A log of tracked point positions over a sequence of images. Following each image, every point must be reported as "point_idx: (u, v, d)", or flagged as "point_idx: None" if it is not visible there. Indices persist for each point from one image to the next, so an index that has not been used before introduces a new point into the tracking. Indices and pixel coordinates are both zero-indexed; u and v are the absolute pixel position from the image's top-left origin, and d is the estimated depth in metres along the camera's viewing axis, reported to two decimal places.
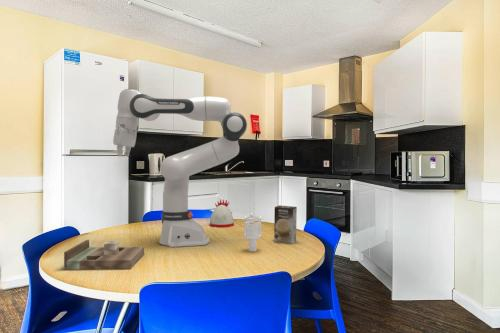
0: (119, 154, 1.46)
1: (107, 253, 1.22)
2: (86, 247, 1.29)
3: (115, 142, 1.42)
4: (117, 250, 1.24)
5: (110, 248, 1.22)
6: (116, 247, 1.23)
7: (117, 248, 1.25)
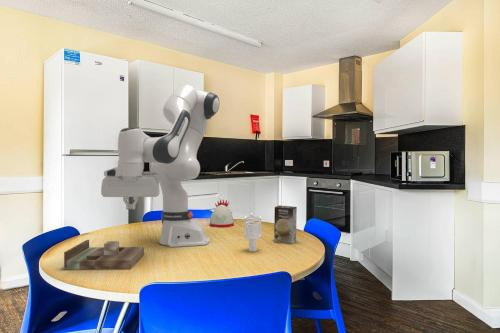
0: (134, 207, 1.24)
1: (107, 253, 1.22)
2: (86, 247, 1.29)
3: (158, 194, 1.24)
4: (117, 250, 1.24)
5: (110, 248, 1.22)
6: (116, 247, 1.23)
7: (117, 248, 1.25)
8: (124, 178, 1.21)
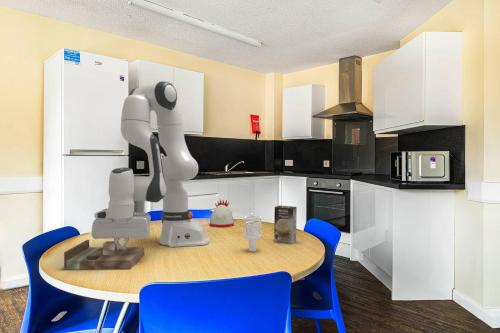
0: (125, 248, 1.24)
1: (106, 253, 1.22)
2: (86, 247, 1.29)
3: None
4: (116, 250, 1.24)
5: (109, 248, 1.22)
6: (115, 247, 1.23)
7: (116, 248, 1.25)
8: (115, 220, 1.21)
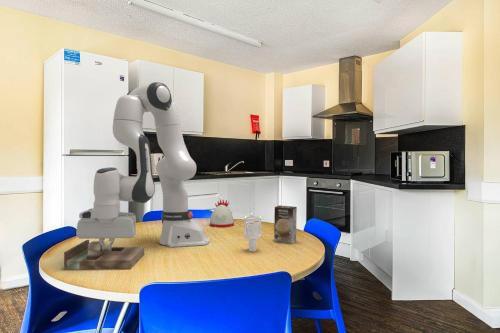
0: (110, 248, 1.23)
1: (91, 253, 1.21)
2: (86, 247, 1.29)
3: (134, 235, 1.23)
4: (101, 250, 1.24)
5: (94, 248, 1.21)
6: (100, 247, 1.23)
7: None
8: (100, 220, 1.20)
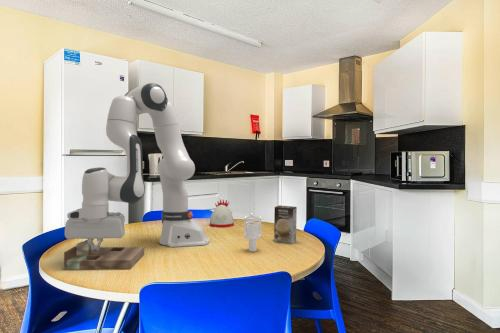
0: (98, 248, 1.23)
1: (80, 253, 1.21)
2: None
3: (122, 235, 1.23)
4: (90, 250, 1.24)
5: (83, 248, 1.21)
6: (89, 247, 1.23)
7: None
8: (88, 220, 1.20)
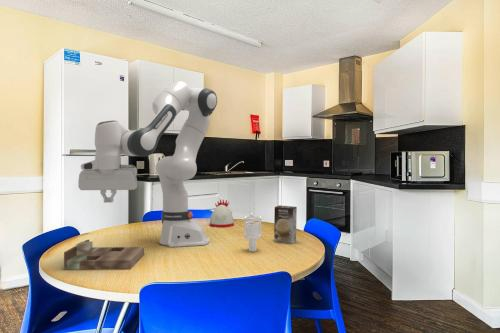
0: (112, 200, 1.25)
1: (80, 253, 1.21)
2: None
3: (135, 187, 1.25)
4: (90, 250, 1.24)
5: (83, 248, 1.21)
6: (89, 247, 1.23)
7: (91, 248, 1.24)
8: (101, 171, 1.22)
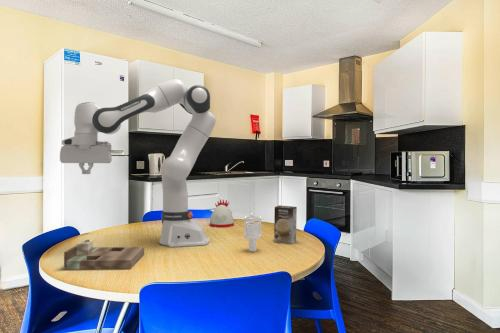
0: (89, 172, 1.43)
1: (80, 253, 1.21)
2: None
3: (109, 160, 1.43)
4: (90, 250, 1.24)
5: (83, 248, 1.21)
6: (89, 247, 1.23)
7: (91, 248, 1.24)
8: (79, 146, 1.40)
